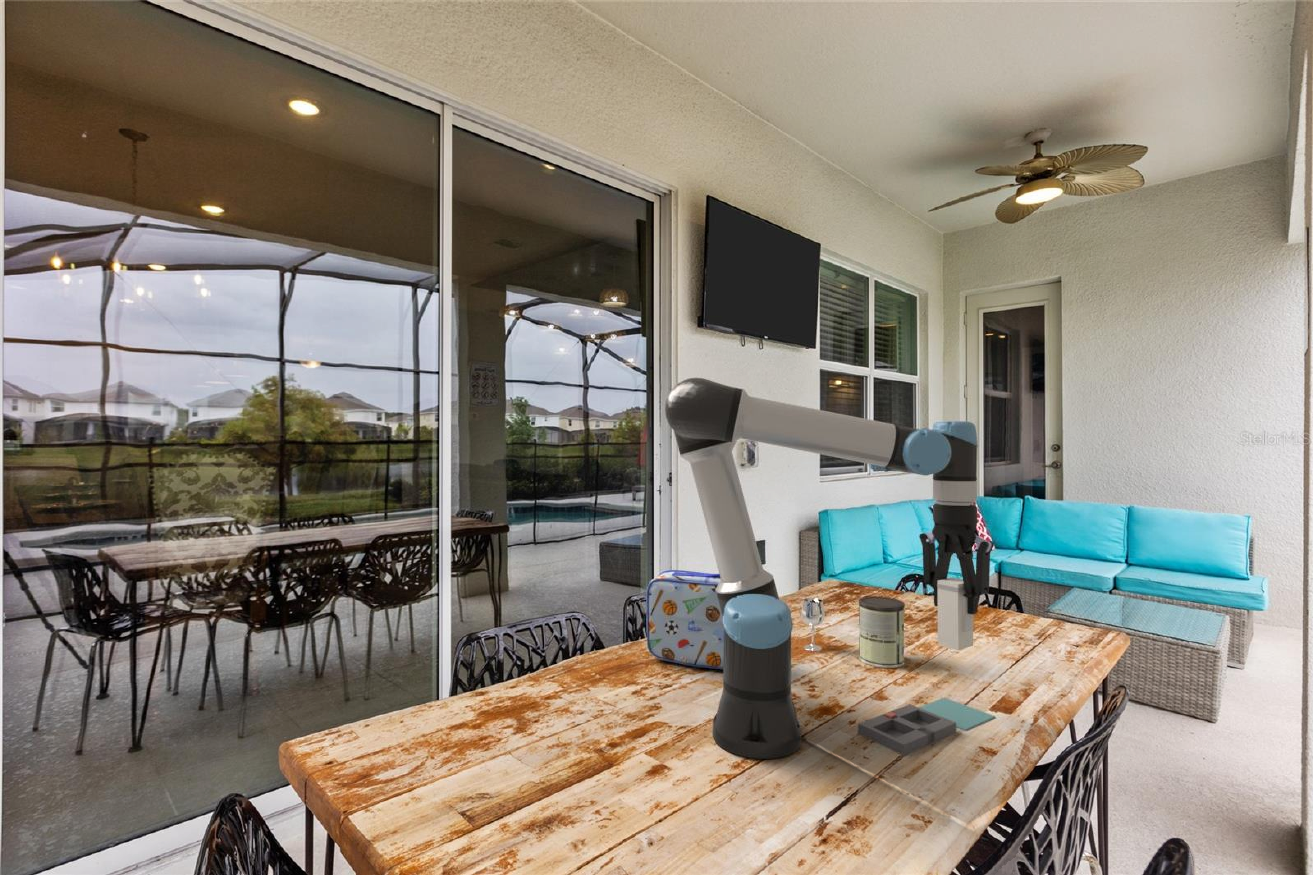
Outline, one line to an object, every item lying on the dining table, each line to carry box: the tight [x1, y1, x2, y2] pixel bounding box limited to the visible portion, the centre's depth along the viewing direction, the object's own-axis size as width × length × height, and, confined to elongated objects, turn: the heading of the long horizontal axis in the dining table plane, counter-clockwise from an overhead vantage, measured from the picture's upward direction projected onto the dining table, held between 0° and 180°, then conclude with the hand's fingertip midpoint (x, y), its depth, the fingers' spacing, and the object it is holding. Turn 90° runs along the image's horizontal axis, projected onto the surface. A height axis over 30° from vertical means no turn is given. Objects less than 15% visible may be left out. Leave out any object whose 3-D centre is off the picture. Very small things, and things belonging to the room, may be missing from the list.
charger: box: [937, 577, 974, 651], centre depth 115 cm, size 5×4×12 cm
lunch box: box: [645, 569, 724, 670], centre depth 143 cm, size 28×10×22 cm, turn 71°
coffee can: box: [858, 596, 906, 669], centre depth 145 cm, size 10×10×14 cm
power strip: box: [857, 704, 957, 756], centre depth 107 cm, size 15×9×3 cm, turn 123°
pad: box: [917, 697, 996, 732], centre depth 115 cm, size 10×10×1 cm
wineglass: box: [800, 597, 826, 652], centre depth 154 cm, size 6×6×12 cm
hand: (955, 627), depth 115 cm, fingers closed on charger, 4 cm apart
